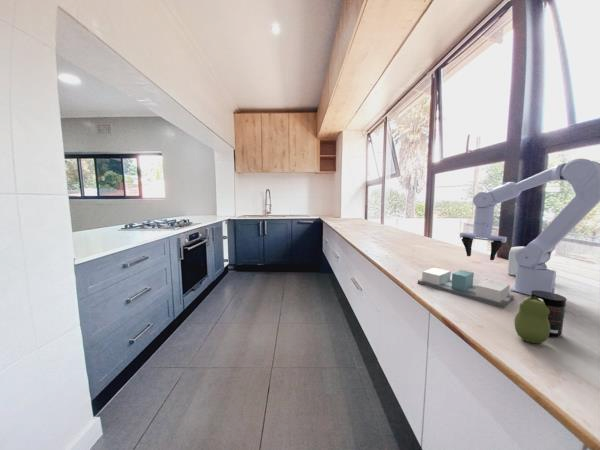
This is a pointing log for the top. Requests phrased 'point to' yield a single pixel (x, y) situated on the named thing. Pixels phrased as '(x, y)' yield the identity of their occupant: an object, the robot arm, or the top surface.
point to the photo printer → (513, 260)
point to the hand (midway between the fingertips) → (480, 257)
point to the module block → (462, 280)
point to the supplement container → (553, 310)
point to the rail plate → (482, 292)
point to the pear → (533, 320)
